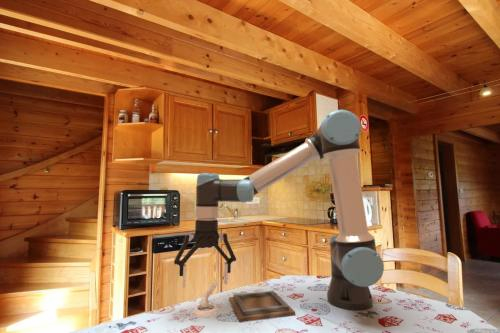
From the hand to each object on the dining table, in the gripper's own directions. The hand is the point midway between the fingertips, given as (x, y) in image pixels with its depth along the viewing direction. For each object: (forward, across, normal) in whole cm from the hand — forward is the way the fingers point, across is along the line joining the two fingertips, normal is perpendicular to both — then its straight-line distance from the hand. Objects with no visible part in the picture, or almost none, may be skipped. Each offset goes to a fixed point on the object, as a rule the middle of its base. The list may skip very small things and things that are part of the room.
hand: (205, 284), depth 89 cm
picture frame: (+8, -18, +1) cm, 20 cm away
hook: (+9, 0, 0) cm, 9 cm away
